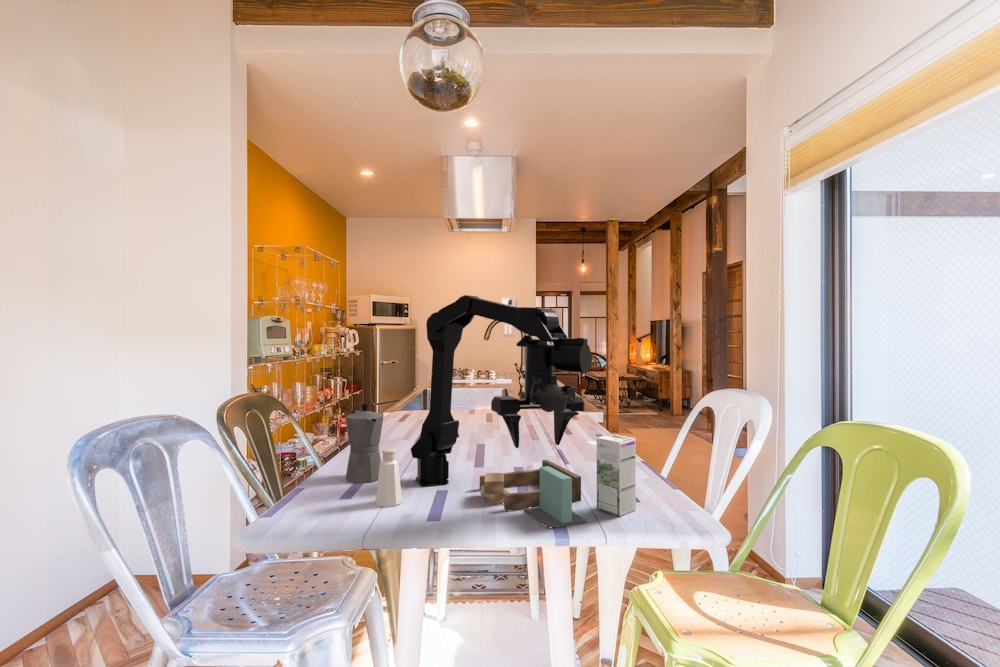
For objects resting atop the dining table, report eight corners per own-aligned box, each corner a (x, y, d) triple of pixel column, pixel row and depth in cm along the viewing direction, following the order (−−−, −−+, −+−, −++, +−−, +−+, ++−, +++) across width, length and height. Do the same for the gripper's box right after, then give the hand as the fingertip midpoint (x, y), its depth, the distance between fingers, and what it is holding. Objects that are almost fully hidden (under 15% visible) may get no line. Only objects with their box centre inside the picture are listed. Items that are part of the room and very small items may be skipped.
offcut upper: (484, 493, 102) (484, 481, 102) (485, 484, 108) (485, 472, 108) (503, 493, 102) (503, 481, 102) (503, 484, 108) (503, 473, 108)
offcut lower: (491, 507, 101) (491, 495, 101) (480, 497, 108) (480, 485, 108) (510, 505, 102) (510, 493, 102) (498, 495, 109) (498, 483, 109)
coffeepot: (393, 481, 118) (394, 405, 118) (354, 488, 112) (354, 408, 112) (370, 467, 130) (370, 398, 130) (334, 472, 125) (334, 400, 125)
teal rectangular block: (562, 523, 91) (562, 479, 91) (539, 507, 99) (539, 467, 99) (571, 521, 91) (571, 478, 91) (548, 506, 100) (548, 466, 100)
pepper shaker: (393, 496, 106) (393, 445, 106) (407, 503, 102) (407, 449, 102) (370, 502, 102) (370, 449, 103) (384, 509, 99) (384, 453, 99)
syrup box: (637, 510, 99) (637, 437, 99) (619, 517, 95) (619, 441, 95) (613, 502, 103) (613, 432, 103) (595, 509, 99) (595, 436, 99)
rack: (506, 511, 98) (506, 485, 98) (479, 489, 112) (479, 466, 112) (581, 500, 104) (581, 476, 104) (546, 480, 118) (546, 459, 118)
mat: (548, 528, 89) (548, 526, 89) (524, 510, 98) (524, 508, 98) (587, 522, 92) (587, 520, 92) (560, 505, 101) (560, 503, 101)
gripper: (513, 374, 90) (510, 459, 91) (600, 373, 97) (598, 452, 98) (491, 368, 101) (489, 445, 101) (571, 368, 108) (569, 440, 108)
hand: (537, 446), depth 102 cm, fingers open, 9 cm apart
